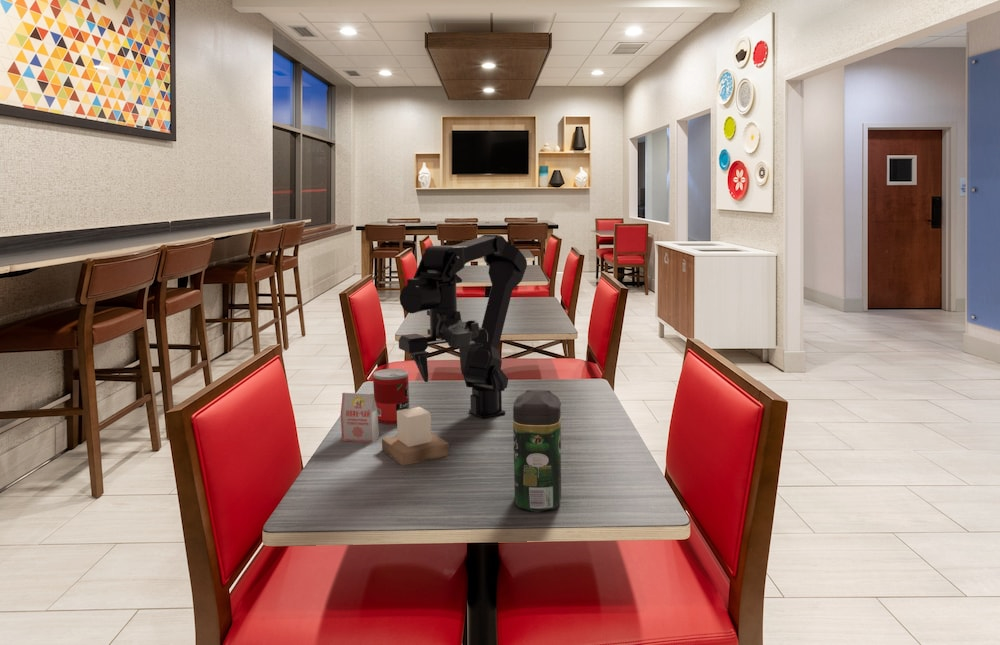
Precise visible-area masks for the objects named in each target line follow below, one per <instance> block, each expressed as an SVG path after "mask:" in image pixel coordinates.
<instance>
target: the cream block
mask: <svg viewBox="0 0 1000 645" xmlns="http://www.w3.org/2000/svg"><path fill="white" fill-rule="evenodd" d="M431 414H432V413H431V412H430V411H428V410H426V409H424V408H423V407H421V406H415V407H409V409H404V410H399V411H397V424H396V425H397V426H396V428H397V429H396V430H397V435H398V440H399V441H401V442H402V443H404V444H405V445H406V446H408V447H411V446H415V445H420V444H424V443H428V442H432V441H431V432H432V421H431V420H432V417H431V416H432V415H431Z"/></svg>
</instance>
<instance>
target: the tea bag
mask: <svg viewBox="0 0 1000 645" xmlns="http://www.w3.org/2000/svg"><path fill="white" fill-rule="evenodd" d="M341 394H342V395H341V398H342V399H341V408H340V424H341V425H340V427H341V428H340V430H341V441H342V442H359V443H374V442H375V441H376V440H377V439H378V438H379V435H380V433H379V422H378V412H377V406H376V403H375V398H374V393H368V392H367V393H365V392H361V393H360V392H342V393H341Z"/></svg>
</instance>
